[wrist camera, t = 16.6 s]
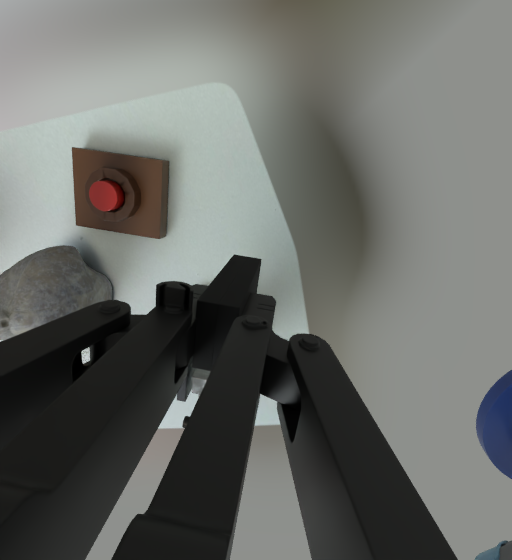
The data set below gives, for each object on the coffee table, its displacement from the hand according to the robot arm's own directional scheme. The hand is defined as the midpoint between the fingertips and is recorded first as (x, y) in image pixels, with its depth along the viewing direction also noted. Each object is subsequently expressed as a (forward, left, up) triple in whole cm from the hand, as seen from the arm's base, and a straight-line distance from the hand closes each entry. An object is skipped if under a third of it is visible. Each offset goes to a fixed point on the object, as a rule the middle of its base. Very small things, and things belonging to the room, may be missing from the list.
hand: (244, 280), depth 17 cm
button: (+21, 0, -23) cm, 31 cm away
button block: (+21, 0, -26) cm, 34 cm away
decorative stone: (+28, +15, -27) cm, 41 cm away
